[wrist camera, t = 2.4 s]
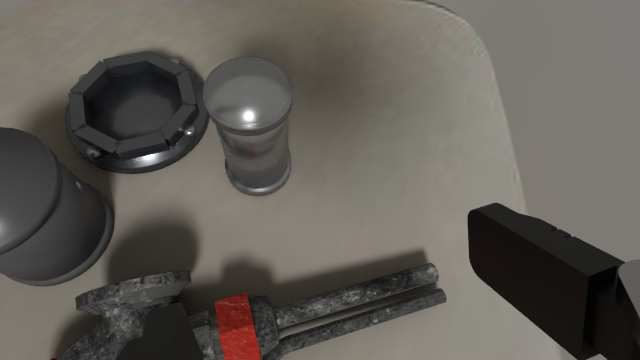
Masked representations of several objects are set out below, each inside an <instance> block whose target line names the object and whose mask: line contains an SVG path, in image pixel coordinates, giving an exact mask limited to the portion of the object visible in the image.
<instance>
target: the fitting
mask: <svg viewBox="0 0 640 360" xmlns="http://www.w3.org/2000/svg"><path fill="white" fill-rule="evenodd" d="M203 99H204V103H205V106H206V109H207V112H208V114H209V116H210V118H211V119H212V121H213V122H214V123H215V124H216V127H217V131H218V134H219V137H220V141H221V144H222V147H223V151H224V154H225V157H226V159H225V168H226V172H227V175H228V178H229V180H230V182H231V183H232V185H233V186H234V187H235V188H236V189H238V190H239V191H241V192H242V193H245V194H248V195H252V196H264V195H268V194H271V193H273V192H275V191H277V190H279V189H280V188H281V187H282V186H283V185H284V184H285V183H286V181H287V179H288V177H289V175H290V171H291V158H290V154H289V152H288V115H289V113H290V111H291V108H292V99H293V89H292V84H291V81H290V79H289V77H288V76H287V74H286V73H285V72H284V70H283V69H281V68H280V67H279V66H278V65H276V64H275V63H273V62H271V61H268V60H266V59H262V58H257V57H240V58H235V59H231V60H229V61H226V62H224V63H222V64H221V65H219V66H217V67H216V68H215V69H214V70H213V71H212V72H211V73H210V74H209V76H208V77H207V79H206V81H205V84H204V87H203Z"/></svg>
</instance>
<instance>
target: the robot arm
mask: <svg viewBox="0 0 640 360" xmlns="http://www.w3.org/2000/svg"><path fill="white" fill-rule="evenodd" d="M468 241H469V259H470V263H471V266H472V268H473V270H474V272H475V273H476V275H477V276H478V277H479V278H480V279H481V280H482V281H484V282H485V283H486V284H487V285H488V286H490V287H491V288H492V289H493V290H494V291H496V292H497V293H498V294H499V295H500V296H502V297H503V298H504V299H505V300H506V301H508V302H509V303H510V304H511V305H512V306H514V307H515V308H516V309H517V310H518V311H520V312H521V313H522V314H523V315H524V316H526V317H527V318H528V319H529V320H530V321H532V322H533V323H534V324H535V325H536V326H538V327H539V328H540V329H541V330H542V331H544V332H545V333H546V334H547V335H548V336H550V337H551V338H552V339H553V340H554V341H556V342H557V343H558V344H559V345H560V346H562V347H563V348H564V349H565V350H567V351H568V352H569V353H570V354H571V355H573V356H574V357H575V358H576V359H577V360H586V359H589V358H591V357H593V356H596V355H598V354H601V355H603V356H604V357H605V358H607V360H640V260H632V261H629V262H624V261H622V260H620V259H617V258H616V257H614V256H612V255H610V254H608V253H606V252H604V251H602V250H600V249H598V248H596V247H594V246H592V245H590V244H588V243H586V242H584V241H582V240H580V239H578V238H576V237H571V235H570V234H568V233H567V232H565V231H562V230H560V229H559V230H557V228H556V227H555V226H553V225H551V224H549V223H547V222H545V221H543V220H541V219H538V218H534V217H531V216H527V215H523V214H519V213H517V212H515V211H513V210H511V209H509V208H507V207H505V206H503V205H501V204H499V203H492V204H489V205H486V206H483V207H480V208H477V209H473V210H471V211H470V212H469V214H468ZM115 360H203V357H202V353H201V350H200V347H199V344H198V342H197V339H196V337H195V334H194V331H193V329H192V326H191V324H190V321H189V319H188V316H187V313H186V311H185V308H184V306H183V304H182V303H181V302H178V303H175V304H172V305H169V306H165V307H162V308H159V309H156V310H153V311H150V312H148V313H147V316H146V321H145V325H144V330H143V335H142V337H139V338H136V339H133V340H130V341H128V342H127V344H126V345H125V347H124V348H123V349H122V351H121V352H120V354H119V355H118V356H117V358H116V359H115Z"/></svg>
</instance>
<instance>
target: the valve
mask: <svg viewBox="0 0 640 360" xmlns="http://www.w3.org/2000/svg"><path fill="white" fill-rule="evenodd" d="M438 278H439V276H438V271H437V269H436V267H435V266H434V264H432V263H429V264H426V265H422V266H419V267H415V268H412V269H408V270H405V271H402V272H398V273H395V274H391V275H388V276H384V277H381V278H377V279H374V280H370V281H367V282H363V283H360V284H356V285H353V286H349V287H346V288H343V289H339V290H336V291H332V292H329V293H325V294H322V295H318V296H315V297H311V298H308V299H304V300H301V301H297V302H294V303H291V304H287V305H284V306H280V307H277V308H273V309H272V305H271V302H270V299H269V297H268V296H247V293H244V294H240V295H236V296H233V297H229V298H225V299H222V300H218V301H214V302H215V309H216V312H213V313H210V311H209V310H206V311H202V312H199V313H196V314H193V315H189V316H188V319H189V321H190V324H191V326H192V329H193V331H194V334H195V337H196V339H197V342H198V344H199V347H200V350H201V353H202V357H203V360H261V357H262V356H263V355H264V357H263V359H262V360H280V359H281V358H282V357H283V356H284V355H285V354H287V353H289V352H292V351H295V350H298V349H301V348H304V347H307V346H311V345H314V344H317V343H320V342H323V341H326V340H329V339H332V338H335V337H339V336H342V335H345V334H348V333H351V332H354V331H357V330H360V329H363V328H367V327H370V326H373V325H376V324H379V323H382V322H385V321H388V320H391V319H395V318H398V317H401V316H404V315H407V314H410V313H413V312H416V311H419V310H423V309H426V308H429V307H432V306H435V305H438V304H441V303H444V302H446V295H445V293H444V291H443V290H442V289H436V290H433V291H430V292H427V293H424V294H420V295H417V296H414V297H411V298H407V299H404V300H401V301H398V302H395V303H391V304H388V305H385V306H382V307H378V308H375V309H372V310H369V311H366V312H362V313H359V314H356V315H353V316H349V317H346V318H343V319H340V320H337V321H333V322H330V323H327V324H324V325H321V326H317V327H314V328H311V329H308V330H304V331H301V332H298V333H295V334H292V335H288V336H285V337H283V338H281V339H279V335H278V329H281V328H284V327H288V326H291V325H294V324H297V323H301V322H304V321H307V320H311V319H314V318H317V317H321V316H324V315H327V314H331V313H334V312H337V311H340V310H344V309H347V308H350V307H354V306H357V305H360V304H364V303H367V302H370V301H373V300H377V299H380V298H383V297H387V296H390V295H393V294H397V293H400V292H403V291H407V290H410V289H413V288H416V287H420V286H423V285H426V284H430V283H433V282H436V281H438ZM189 284H191V277H190V272H189V271H177V272H168V273H162V274H156V275H150V276H145V277H135V278H132V279H130V280H127V281H123V282H119V283H115V284H111V285H107V286H104V287H100V288H97V289H94V290H91V291H88V292H86V293H83V294H81V295H79V296H77V297H76V298H75V299H76V309H77V310H78V311H82V310H86V311H88V312H90V313H93V314H95V315H103V319H102V320H101V321H99V322H98V323H97V324H96V325H95V326H94V327H92V328H91V329H90V330H89V331H88V332H87V333H85V334H84V335H83V336H82V337H81V338H80V339H78V340H77V341H76V342H75V343H74V344H73V345H72V346H70V347H69V348H68V349H67V350H66V351H65V352H63V353H62V354H61V355H60V356H59V357H58V358H57V359H55V358H51V359H50V360H115V359H116V358H117V356H118V355H119V354H120V352H121V351H122V349H123V348H124V347H125V345H126V344H127V342H128V341H130V340H133V339H136V338H139V337H142V335H143V330H144V325H145V321H146V316H147V313H148V312H150V311H153V310H156V309H159V308H162V307H165V306H169V305H171V302H173V301H174V300H173V297H175V296H177V295H178V294H179V293H180V292H181V291H182V290H183V288H184V287H185V286H187V285H189Z"/></svg>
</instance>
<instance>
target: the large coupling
mask: <svg viewBox="0 0 640 360" xmlns="http://www.w3.org/2000/svg"><path fill="white" fill-rule="evenodd" d="M113 226H114V218H113V212H112V209H111V207H110V205H109V203H108V201H107V200H106V199H105V197H104V196H103V195H102V194H100V193H99V192H98V191H97V190H96V189H95V188H93V187H92V186H90V185H89V184H86V183H84V182H82V181H81V180H80V179H79V178H77V177H76V176H75V175H74V174H73V173H72V172H70V171H69V170H68V169H67V168H66V167H65V166H63V165H62V164H61V163H60V162H59V161H58V159H57V157H56V156H55V154H54V153H53V152H52V151H51V150H50V149H49V148H48V147H47V146H46V145H45V144H43V143H42V142H41V141H40V140H39V139H38V138H36V137H34V136H33V135H31V134H29V133H27V132H24V131H21V130H17V129H12V128H2V127H0V273H2V274H4V275H6V276H7V277H9V278H10V279H13V280H15V281H18V282H21V283H24V284H28V285H33V286H52V285H57V284H61V283H64V282H67V281H69V280H72V279H74V278H76V277H78V276H79V275H81V274H82V273H84V272H85V271H87V270H88V269H89V268H90V267H91V266H93V265H94V264H95V263H96V262H97V261H98V259H99V258H100V257H101V256H102V254H103V253H104V251H105V250H106V248H107V246H108V244H109V242H110V239H111V237H112V233H113Z"/></svg>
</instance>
